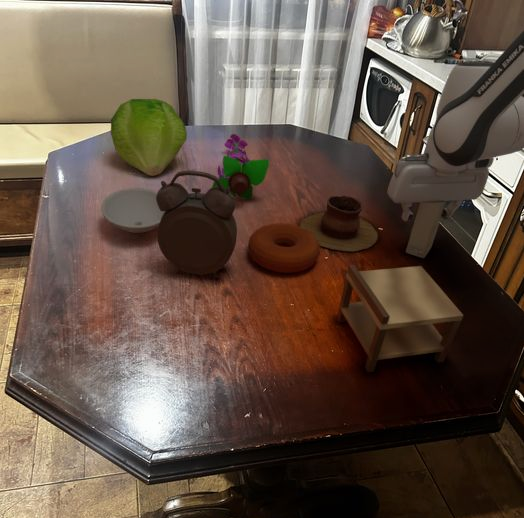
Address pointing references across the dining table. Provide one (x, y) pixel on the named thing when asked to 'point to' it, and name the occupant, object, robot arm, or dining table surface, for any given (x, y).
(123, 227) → the dish
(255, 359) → the dining table surface
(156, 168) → the lettuce
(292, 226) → the donut
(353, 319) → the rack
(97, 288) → the dining table surface
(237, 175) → the potted plant
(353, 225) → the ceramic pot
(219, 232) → the alarm clock
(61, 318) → the dining table surface
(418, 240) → the cosmetic box
